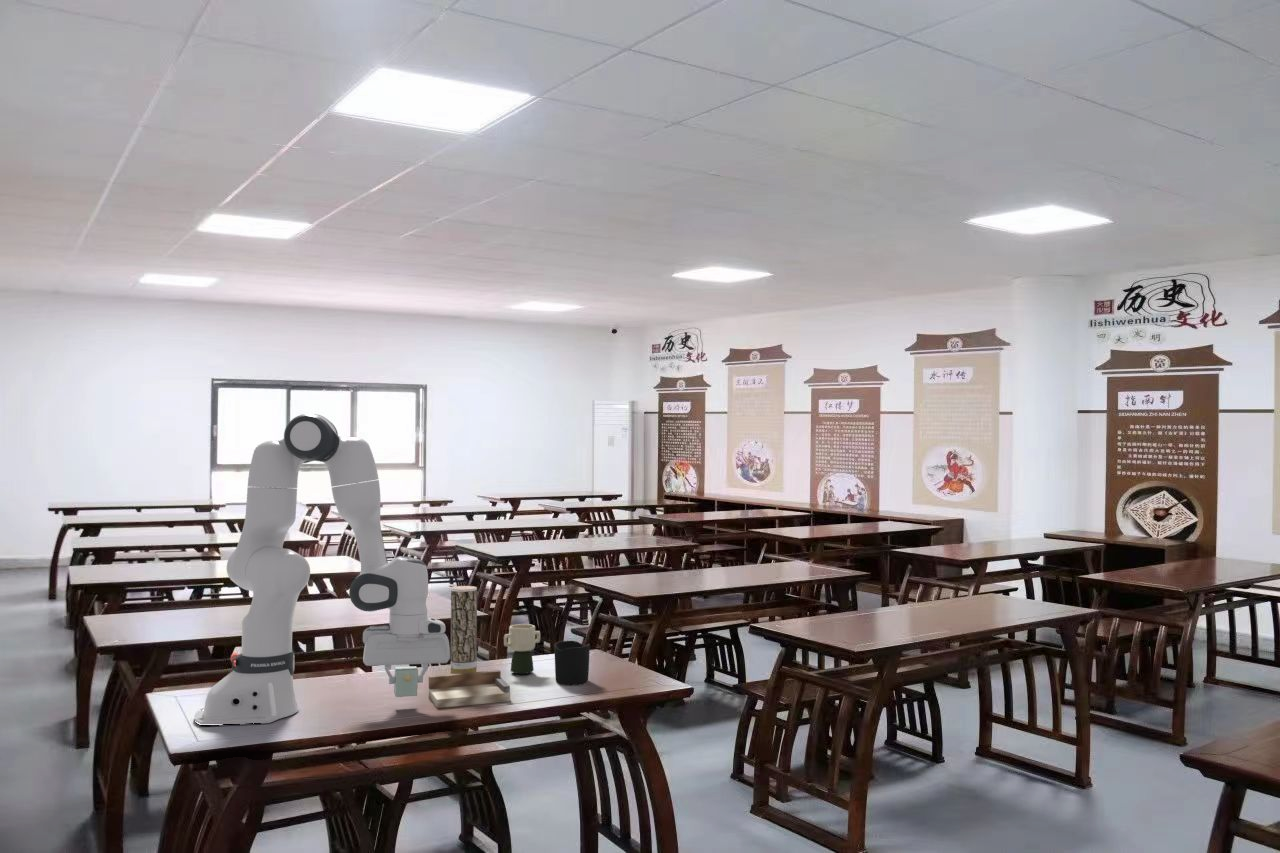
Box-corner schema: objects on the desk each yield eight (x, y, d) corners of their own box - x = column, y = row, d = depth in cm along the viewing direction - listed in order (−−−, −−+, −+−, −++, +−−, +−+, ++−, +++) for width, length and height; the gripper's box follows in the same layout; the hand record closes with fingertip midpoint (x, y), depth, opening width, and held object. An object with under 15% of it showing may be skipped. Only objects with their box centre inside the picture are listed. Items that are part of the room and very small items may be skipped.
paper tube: (464, 686, 252) (465, 590, 253) (445, 683, 256) (445, 588, 256) (481, 681, 258) (482, 587, 258) (462, 677, 262) (463, 585, 262)
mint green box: (396, 698, 227) (397, 672, 227) (394, 692, 233) (394, 667, 233) (417, 697, 229) (418, 671, 229) (415, 691, 235) (416, 666, 235)
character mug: (534, 668, 273) (534, 622, 273) (545, 673, 267) (545, 626, 267) (498, 673, 267) (498, 625, 267) (508, 678, 261) (509, 630, 261)
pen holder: (588, 677, 263) (588, 640, 263) (591, 685, 253) (591, 647, 254) (553, 678, 262) (553, 641, 262) (555, 686, 252) (555, 648, 252)
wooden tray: (436, 708, 231) (436, 687, 232) (428, 695, 243) (428, 675, 243) (510, 700, 238) (510, 680, 238) (499, 689, 249) (499, 669, 249)
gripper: (363, 628, 226) (361, 687, 225) (452, 625, 233) (449, 683, 232) (362, 623, 232) (360, 681, 231) (448, 621, 239) (446, 678, 238)
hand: (405, 682), depth 232 cm, fingers closed on mint green box, 5 cm apart
